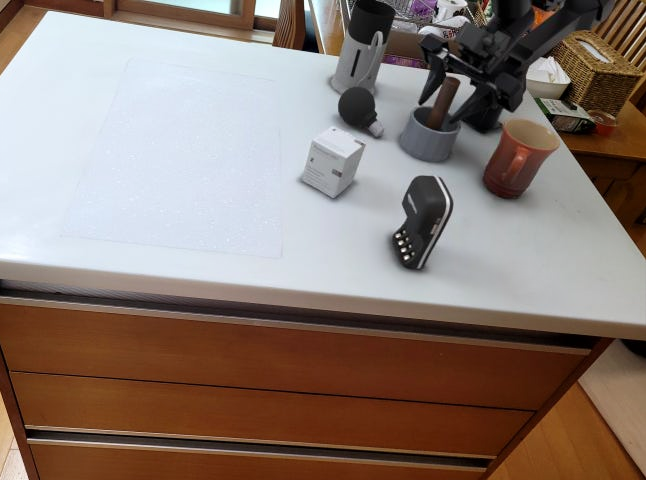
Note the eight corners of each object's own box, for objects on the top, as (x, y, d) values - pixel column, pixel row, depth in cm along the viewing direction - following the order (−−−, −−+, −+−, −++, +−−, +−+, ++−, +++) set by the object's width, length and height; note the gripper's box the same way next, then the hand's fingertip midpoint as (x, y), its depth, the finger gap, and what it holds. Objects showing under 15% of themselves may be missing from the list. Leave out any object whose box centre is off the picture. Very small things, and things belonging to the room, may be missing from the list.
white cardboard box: (300, 181, 83) (310, 139, 77) (321, 165, 87) (332, 123, 81) (334, 199, 81) (347, 158, 76) (353, 182, 85) (367, 141, 79)
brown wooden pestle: (434, 139, 97) (462, 75, 88) (440, 153, 94) (469, 88, 85) (411, 136, 96) (436, 71, 88) (415, 150, 93) (442, 84, 85)
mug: (482, 164, 95) (510, 111, 87) (531, 185, 93) (563, 133, 85) (464, 198, 87) (493, 142, 79) (517, 222, 85) (552, 167, 77)
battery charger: (384, 234, 77) (411, 167, 69) (409, 235, 78) (439, 169, 70) (397, 270, 73) (428, 203, 64) (423, 271, 73) (458, 205, 65)
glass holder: (370, 78, 110) (394, 1, 100) (382, 116, 101) (410, 34, 90) (328, 72, 109) (348, -7, 98) (336, 109, 99) (359, 26, 89)
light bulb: (388, 125, 90) (348, 80, 91) (362, 151, 94) (324, 108, 95) (401, 118, 95) (363, 76, 96) (376, 144, 99) (340, 103, 100)
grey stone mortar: (423, 129, 100) (434, 102, 96) (457, 155, 96) (471, 127, 92) (390, 139, 96) (400, 110, 92) (424, 166, 91) (437, 138, 87)
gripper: (447, -21, 85) (380, 61, 87) (552, 30, 77) (476, 118, 79) (455, 23, 95) (395, 95, 97) (549, 72, 87) (482, 150, 88)
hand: (434, 113), depth 90 cm, fingers open, 6 cm apart
